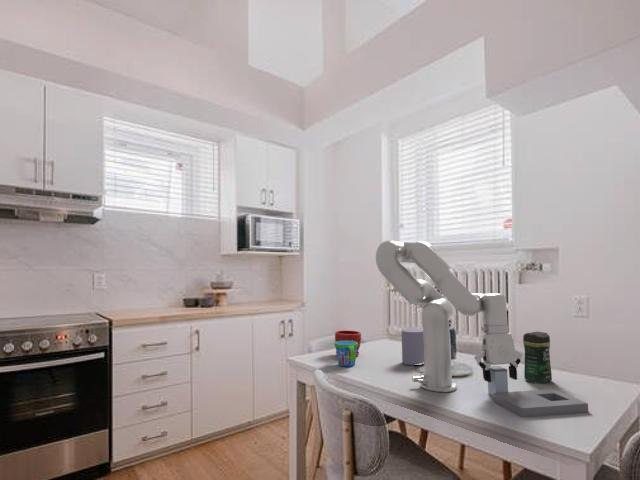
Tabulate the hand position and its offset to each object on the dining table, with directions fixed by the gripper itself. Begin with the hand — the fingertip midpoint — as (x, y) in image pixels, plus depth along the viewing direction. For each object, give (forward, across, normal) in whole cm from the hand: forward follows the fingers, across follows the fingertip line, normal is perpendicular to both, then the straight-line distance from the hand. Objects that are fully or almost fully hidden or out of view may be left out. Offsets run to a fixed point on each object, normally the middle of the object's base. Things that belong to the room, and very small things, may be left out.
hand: (500, 379), depth 131 cm
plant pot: (+3, -38, +69) cm, 78 cm away
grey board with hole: (+6, +5, -11) cm, 14 cm away
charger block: (+5, -1, +1) cm, 5 cm away
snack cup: (+3, -43, +51) cm, 66 cm away
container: (+4, -12, +48) cm, 49 cm away
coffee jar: (+6, +24, +13) cm, 28 cm away
